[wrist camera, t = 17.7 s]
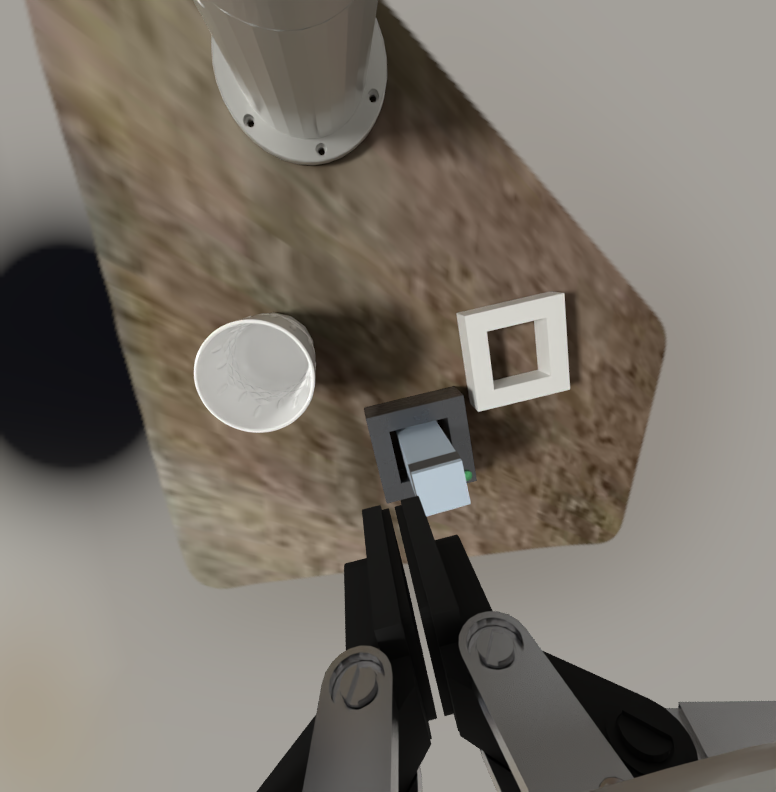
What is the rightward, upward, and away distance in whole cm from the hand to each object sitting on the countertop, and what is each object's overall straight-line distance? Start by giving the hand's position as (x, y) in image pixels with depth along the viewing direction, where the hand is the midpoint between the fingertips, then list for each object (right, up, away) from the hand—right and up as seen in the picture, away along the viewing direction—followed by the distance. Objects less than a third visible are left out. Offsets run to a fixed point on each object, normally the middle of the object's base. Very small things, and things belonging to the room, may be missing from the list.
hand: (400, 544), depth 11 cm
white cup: (-10, +9, +25) cm, 28 cm away
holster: (+11, +9, +27) cm, 31 cm away
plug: (+3, 0, +29) cm, 29 cm away
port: (+3, 0, +29) cm, 29 cm away
